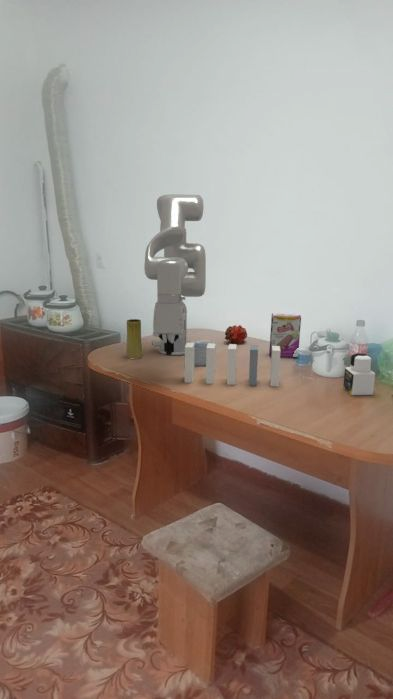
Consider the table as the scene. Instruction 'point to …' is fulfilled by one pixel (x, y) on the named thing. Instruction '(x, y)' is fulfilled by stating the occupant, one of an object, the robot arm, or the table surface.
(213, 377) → the domino
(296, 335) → the candy bar box
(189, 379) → the domino
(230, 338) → the dragon fruit
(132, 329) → the vase
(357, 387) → the medicine bottle
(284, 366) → the table surface
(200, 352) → the medicine box
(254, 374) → the domino
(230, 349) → the domino
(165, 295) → the robot arm
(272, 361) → the domino
